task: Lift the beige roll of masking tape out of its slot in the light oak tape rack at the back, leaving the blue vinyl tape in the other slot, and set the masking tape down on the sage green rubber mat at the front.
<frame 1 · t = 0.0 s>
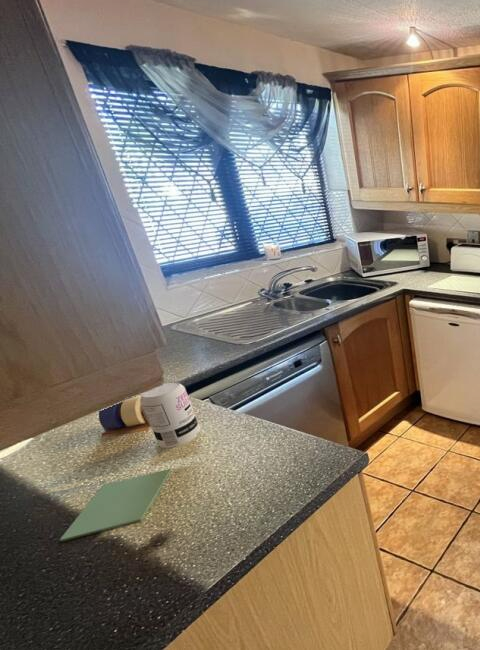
supplement can: (181, 440, 97), on the counter
vinyl tape: (121, 425, 100), point 1 cm above the counter, touching tape rack
masking tape: (142, 422, 102), point 1 cm above the counter, touching tape rack
tape rack: (133, 427, 102), on the counter
mat: (121, 502, 79), on the counter
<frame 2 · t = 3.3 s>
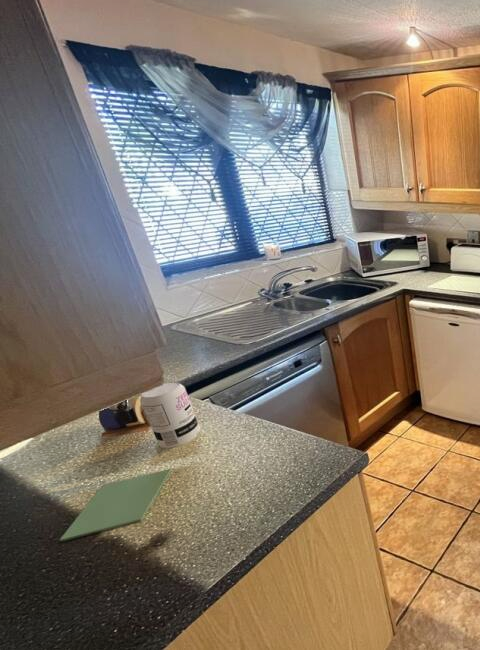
hand: (138, 413, 101), 4 cm above the counter, tool pointing down, fingers closed on masking tape, 7 cm apart
masking tape: (142, 421, 102), point 1 cm above the counter, touching gripper, tape rack
everything else where it was.
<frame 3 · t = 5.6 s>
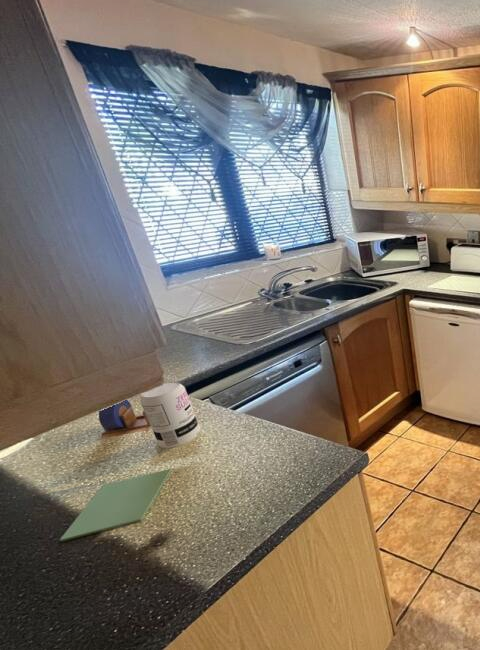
masking tape: (116, 369, 95), point 17 cm above the counter, touching gripper
everything else where it was.
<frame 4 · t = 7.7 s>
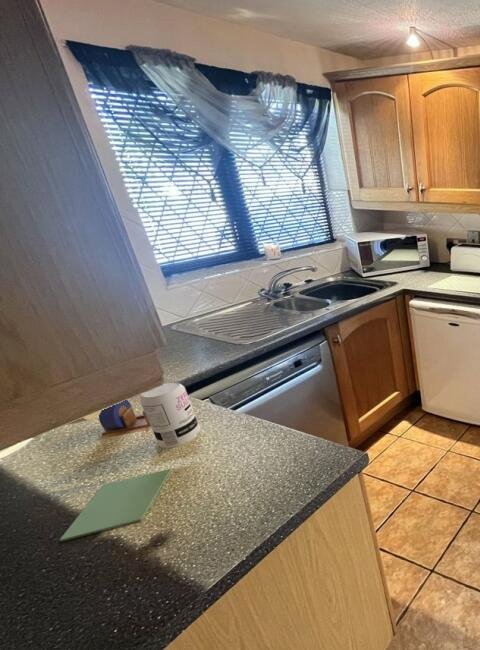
masking tape: (87, 418, 74), point 19 cm above the counter, touching gripper
everything else where it was.
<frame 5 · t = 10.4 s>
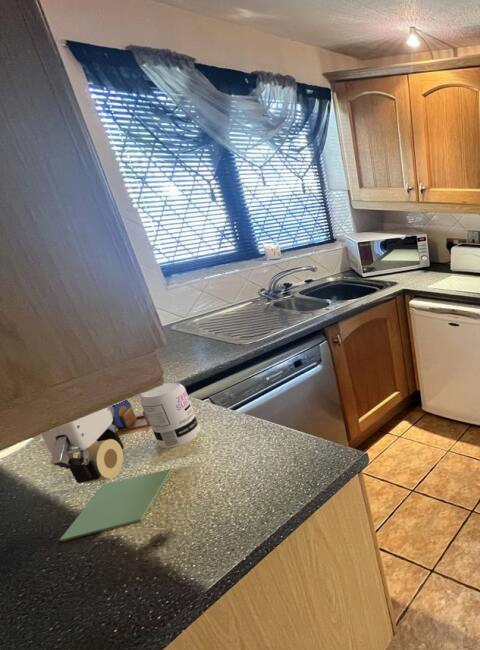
hand: (102, 464, 75), 10 cm above the counter, tool pointing down, fingers closed on masking tape, 7 cm apart
masking tape: (109, 475, 76), point 7 cm above the counter, touching gripper
everything else where it was.
when the fingers open (3 cm above the counter, at t = 12.6 s): masking tape stays where it is, resting on mat.
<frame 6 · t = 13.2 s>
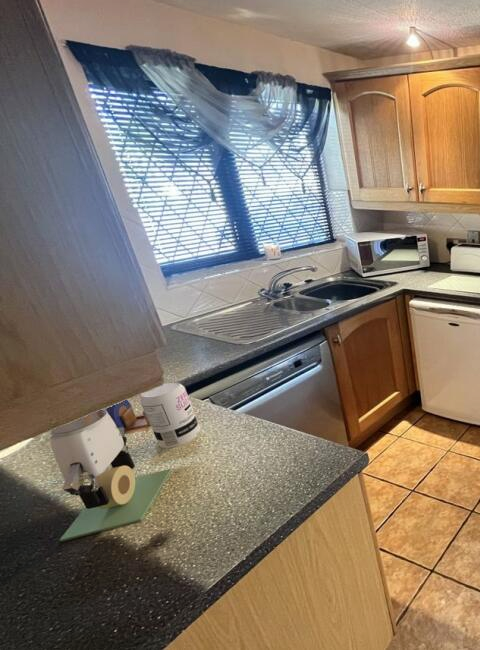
hand: (112, 486, 77), 4 cm above the counter, tool pointing down, fingers open, 9 cm apart
masking tape: (121, 500, 79), resting on mat
everything else where it was.
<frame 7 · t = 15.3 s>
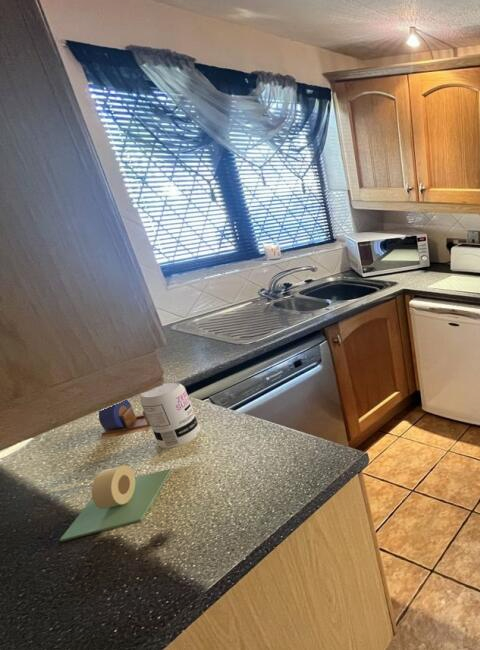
nothing on the counter moved.
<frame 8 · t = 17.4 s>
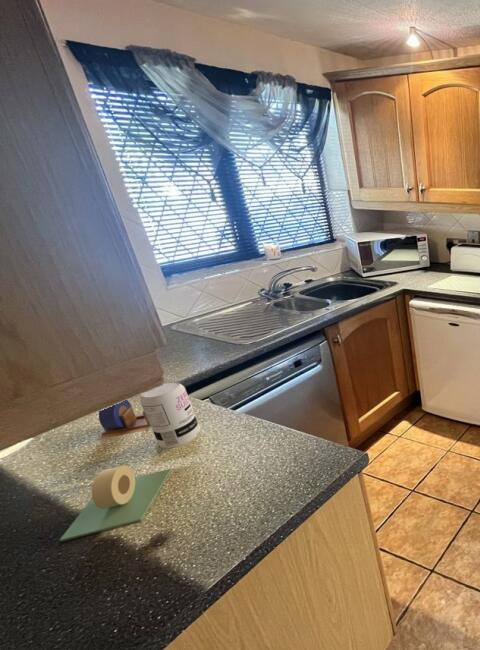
nothing on the counter moved.
at the end: masking tape inside the target area on the mat (0.2 cm from its centre), point 0.5 cm above the mat's base; the gripper is holding nothing; vinyl tape moved 0.0 cm from its start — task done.
